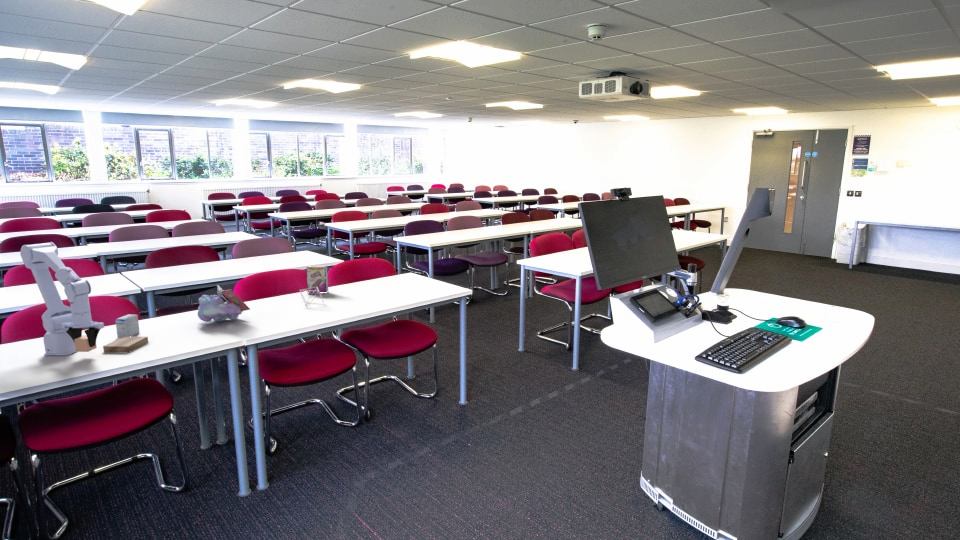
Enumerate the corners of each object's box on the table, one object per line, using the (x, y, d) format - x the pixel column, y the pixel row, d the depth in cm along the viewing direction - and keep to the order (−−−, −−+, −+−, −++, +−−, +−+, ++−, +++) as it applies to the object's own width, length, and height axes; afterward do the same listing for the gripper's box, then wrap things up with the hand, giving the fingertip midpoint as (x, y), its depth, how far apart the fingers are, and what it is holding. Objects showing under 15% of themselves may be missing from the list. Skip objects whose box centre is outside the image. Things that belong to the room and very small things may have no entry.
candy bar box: (307, 294, 299) (305, 267, 296) (309, 292, 304) (308, 265, 301) (326, 294, 300) (325, 267, 297) (328, 292, 305) (327, 265, 302)
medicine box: (130, 332, 227) (127, 314, 225) (140, 332, 226) (137, 314, 225) (117, 338, 219) (114, 319, 217) (127, 338, 219) (124, 319, 217)
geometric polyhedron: (324, 301, 283) (323, 286, 281) (325, 306, 273) (324, 290, 271) (300, 303, 279) (299, 287, 277) (300, 308, 269) (299, 292, 267)
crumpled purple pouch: (196, 320, 246) (193, 284, 243) (244, 313, 258) (242, 279, 254) (200, 331, 230) (197, 292, 226) (252, 323, 241) (249, 287, 238)
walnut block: (104, 353, 202) (103, 346, 202) (124, 343, 214) (123, 336, 213) (129, 353, 202) (128, 346, 202) (148, 343, 214) (147, 336, 213)
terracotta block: (76, 351, 193) (74, 339, 192) (84, 347, 198) (83, 335, 197) (88, 351, 193) (86, 339, 192) (96, 347, 198) (94, 335, 197)
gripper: (53, 314, 189) (58, 349, 191) (92, 315, 189) (97, 349, 191) (68, 309, 196) (73, 343, 198) (106, 310, 196) (110, 343, 198)
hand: (85, 346), depth 195 cm, fingers closed on terracotta block, 4 cm apart
